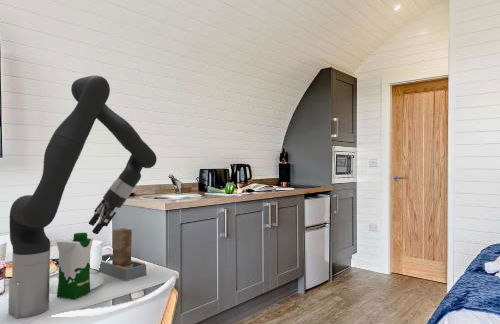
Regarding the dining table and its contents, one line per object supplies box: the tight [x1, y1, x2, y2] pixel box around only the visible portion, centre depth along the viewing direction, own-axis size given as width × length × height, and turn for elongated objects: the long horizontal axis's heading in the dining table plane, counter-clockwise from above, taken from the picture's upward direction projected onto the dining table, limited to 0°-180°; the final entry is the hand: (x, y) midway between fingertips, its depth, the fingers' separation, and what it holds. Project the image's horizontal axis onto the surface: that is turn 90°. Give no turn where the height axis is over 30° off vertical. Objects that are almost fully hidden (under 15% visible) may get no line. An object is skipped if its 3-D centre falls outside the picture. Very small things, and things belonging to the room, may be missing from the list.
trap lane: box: [98, 253, 147, 282], centre depth 140 cm, size 9×26×4 cm, turn 53°
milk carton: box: [56, 232, 94, 301], centre depth 114 cm, size 9×9×20 cm
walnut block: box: [112, 227, 133, 267], centre depth 138 cm, size 5×5×14 cm
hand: (92, 228), depth 131 cm, fingers open, 8 cm apart
